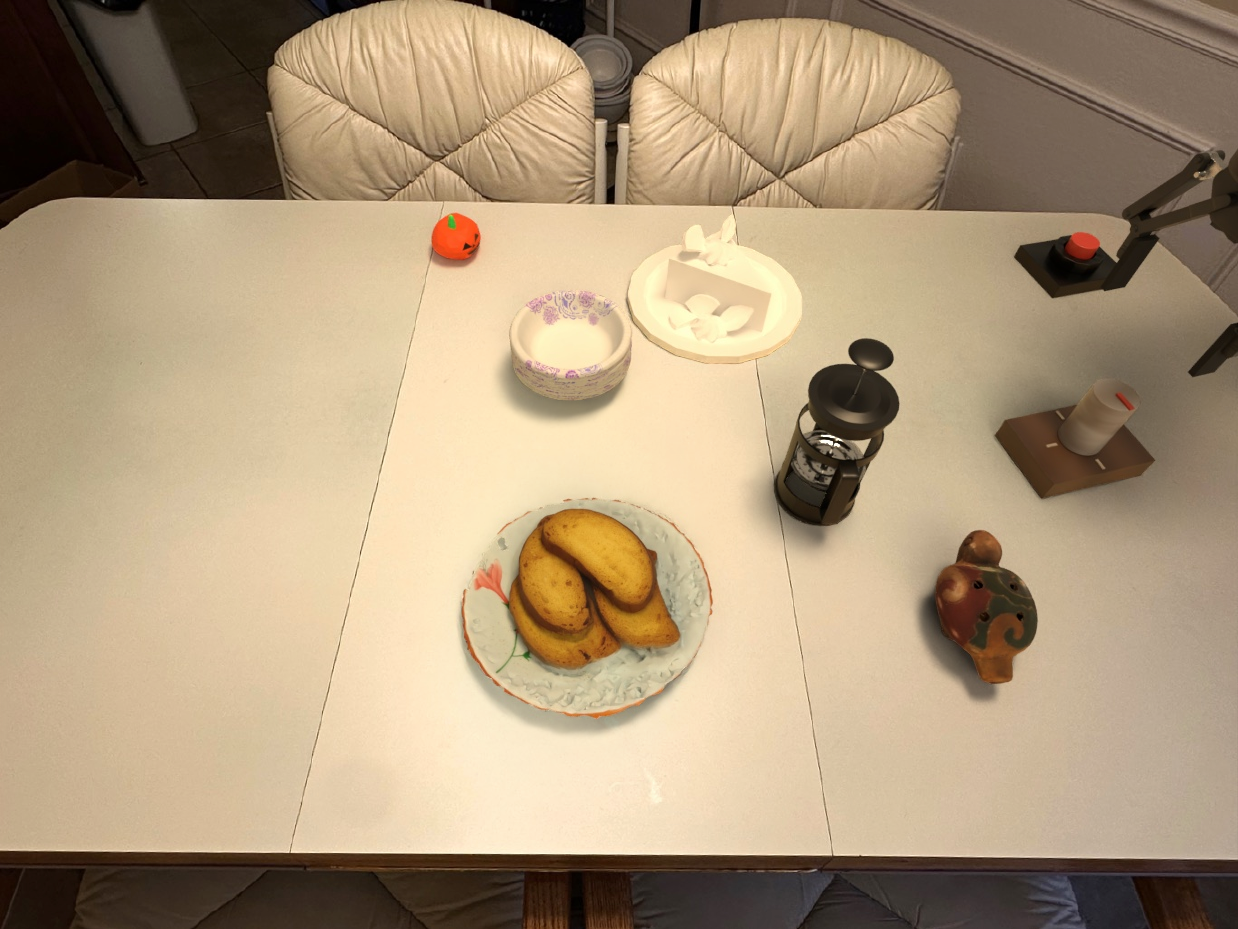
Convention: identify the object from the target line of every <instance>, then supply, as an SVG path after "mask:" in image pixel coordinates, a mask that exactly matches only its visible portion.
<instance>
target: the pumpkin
mask: <svg viewBox="0 0 1238 929" xmlns="http://www.w3.org/2000/svg"><path fill="white" fill-rule="evenodd" d="M481 238H482V237H481V232H480V229H479V226H478V224H477V223H476V221H474V219H472V218H470V217H468V216H466V215H464V214H461V213H459V212H452V213H449V214H447V215H445V216H444V217H442V218H441V219H439V220H438V222H436V224H435V225H434V227H433V230H432V233H431V238H430V239H431V246H432V249H433V251H435V253H437V254H438V255H440V256H441V257H444V258H447V259H449V260H466V259H468V258H471V257H472V256H473V254H474V253H475V252H476V251H477V250H478V249H479V247H480V243H481V240H482V239H481Z"/></svg>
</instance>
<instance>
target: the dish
mask: <svg viewBox="0 0 1238 929" xmlns="http://www.w3.org/2000/svg"><path fill="white" fill-rule="evenodd" d="M736 228H737V223H736V219H735V216H734V214H733V213H732V214H730V215H728V217H726V218H725V220H724V221H723V224H722V225H721V229H719V230H718V231H715V232H714V233H712V234H710V235H708V236H707V237H705V235H704V232H703V229H702V226H701V224H694V225H692V226H690V227H689V228H687V229H686V230H684V233H683V235H682V237H681V238H682V239H681V243H679V244H674V245H669V246H667V247H664V248H663V249H661V250H659V251H657V252H656V253H653V254H652V255H650V256H648V257H646V258H645V259H644V260H643V261H642V262H641V264H640V265H639V266H638V267H637V268H636V269H635V270H634V272H633V273H632V274H631V278H630V282H629V287H628V291H627V304H628V308H629V311H630V315H631V319H632V322H633V323H634V324H635V326H637V327H638V329H639V330H640V331H641V332H642V333H643V335H645V337H646V338H647V339H648V340H649V341H650V342H652V343H654V344H655V345H657V346H658V347H661V348H662V349H664V350H666V351H668V352H669V353H671V354H673V355H674V356H677V357H681V358H685V359H688V360H692V361H696V362H701V363H704V364H741V363H745V362H749V361H752V360H757V359H760V358H763V357H767V356H769V355H771V354H772V353H774V352H775V351H776V350H778V349H780V348H781V347H782V346H784V345H785V344H787V343H788V342H790V340H791V338H792V336H793V335H794V333H795V331H796V330H797V328H798V326H799V325H800V323H801V319H802V316H803V295H802V292H801V290H800V289H799V286H798V285H797V283H796V281H795V279H794V277H793V275H792V274H790V272H788V271H787V270H786V269H785V268H784V267H783V266H782V265H780V264H779V263H778V262H777V261H776V260H775V259H774V258H771V257H769V256H768V255H765V254H763V253H761V252H759V251H757V250H754V249H753V248H751V247H747V246H743V245H739V244H737V243H736V242H735V240H734V239H733V236H734V234H736Z"/></svg>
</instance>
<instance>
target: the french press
mask: <svg viewBox="0 0 1238 929" xmlns="http://www.w3.org/2000/svg"><path fill="white" fill-rule="evenodd" d="M847 353H848V357H849V358H850V360H851V361H852V362H853V363H835V364H831V365H828V366H826V367H823V368H821V369H819V370H818V371H817V372H816V373H815V374H814V375H813V376H812V377H811V379H810V381H809V384H808V387H807V398H808V402H807V403H805V405H804V406H803V407H802V408H801V409H800V411H799V414H798V417H797V419H796V421H795V422H796V423H795V428H794V430H793V433H792V437H791V439H790V442H789V445H788V448H787V451H786V455H785V457H784V460H783V461H782V464H781V467H780V470H779V471H778V472H777V474H776V476H775V478H774V483H773V492H774V496H775V499H776V501H777V502H778V505H779V506H780V507H781V508H782V510H783V511H784V512H785V513H786V514H788V516H790V517H791V518H792V519H795V520H796V521H798V522H800V521H801V522H800V523H803V524H806V525H810V526H816V527H825V526H826V527H827V526H832V525H838V523H840V522H842V521H843V520H844V519H846V518H847V517H848V516H849V515H850V514H851V512H852V511H853V508H854V506H855V503H856V498H857V496H858V493H859V491H860V489H861V483H862V481H863V479H864V476H865V474H866V473H867V470H868V469H869V466H870V465H871V463H872V461H873V460H875V458H876V457H877V455H878V454H879V452H880V450H881V447H882V446H883V444H884V440H885V429H886V428H887V427H888V426H889V425H891V424H892V423H893V421H894V420H895V419H896V418H897V416H898V413H899V411H900V405H901V404H900V397H899V395H898V392H897V390H896V388H895V387H894V386H893V384H892V383H891V382H890V381H889V380H888V379H887V378H886V377H884V376H883V375H882V374H880V373H879V372H880V371H884V370H887V369H889V368H890V367H891V366H892V365H893V363H894V361H895V356H894V353H893V350H892V349H891V348H890V347H889V346H888V345H887V344H886V343H884V342H882V341H880V340H878V339H874V338H868V337H865V338H858V339H856V340H854V341H852V342H851V343H850V344H849V346H848V349H847ZM807 412H809V415H810V417H811V418H812V420H813V422H814V426H813V429H812V430H810V431H806V432H804V433H803V431H802V429H801V421H800V420H801V419H802V417H803V416H804V415H805V413H807ZM866 440H869V441H868V445H867V447H866V449H865V451H864V453H863V451H862V450H861V449H860V447H859V446H858V445H857V444H856V443H855V442H856V441H857V442H859V441H860V442H861V441H866ZM793 473H794V474H795V475H796V476H797V478H798V479H799V480H800V481H801V482H803V484H806V485H807V486H809V487H810V488H811V489H815V490H817V491H820V492H823V493H824V495H823V498H822V500H821V502H820V504H819V506H818V505H815V504H811V503H809V502H807V501H804V500H802V498H799V497H798V496H797V495H796V494H795V493H794V492H793V491H792V490H791V489H790V488H789V487H788V484H787V481H788V479H789V477H790V476H791V475H792V474H793Z"/></svg>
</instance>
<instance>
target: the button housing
mask: <svg viewBox="0 0 1238 929" xmlns="http://www.w3.org/2000/svg"><path fill="white" fill-rule="evenodd" d="M1072 235H1073V234H1069V235H1062V236H1060V237H1059V238H1055V239H1050V240H1044V241H1043V240H1042V241H1038V242H1031V243H1026V244H1025V243H1024V244H1020V245H1019V247H1018V248H1017V250H1016V252H1015V254H1014V256H1013V258H1014V259H1015V260H1016V261H1017V262H1018V263H1019V264H1020V265H1021V266H1022V267H1023V269H1024V270H1025V271H1027V273H1028V274H1029V275H1030V276H1031V277H1032V278H1033V280H1035V281H1036V283H1037V284H1038V285H1039V286H1040V287H1041V288H1042V289H1043V291H1045V293H1046V294H1048V296H1049V297H1050V298H1051V299H1055V298H1062V297H1067V296H1072V295H1079V294H1084V293H1089V292H1095V291H1100V290H1103V289H1102V288H1101V285H1102V284H1103V282H1104V281H1105V279H1106V278H1107V276H1108V275H1109V273H1110V272H1111V271H1112V269H1113V268H1114V266H1115V265H1116V263H1117V261H1116V260H1114V259H1113V258H1112V257H1111V256H1110V255H1109V254H1108V253H1107V252H1106V251H1105V250H1104V249H1103V248H1102V246H1101V245H1100V246H1099V247H1098V249H1097V251H1096V252H1095V254H1094V255H1093V257H1092V258H1091V259H1087V260H1085V259H1079V258H1076V257H1074V256H1072V255H1070V254H1068V253H1067V252H1066V251H1065V246H1066V244H1067V242H1068V241H1069V239H1070V238H1071V236H1072Z"/></svg>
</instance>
